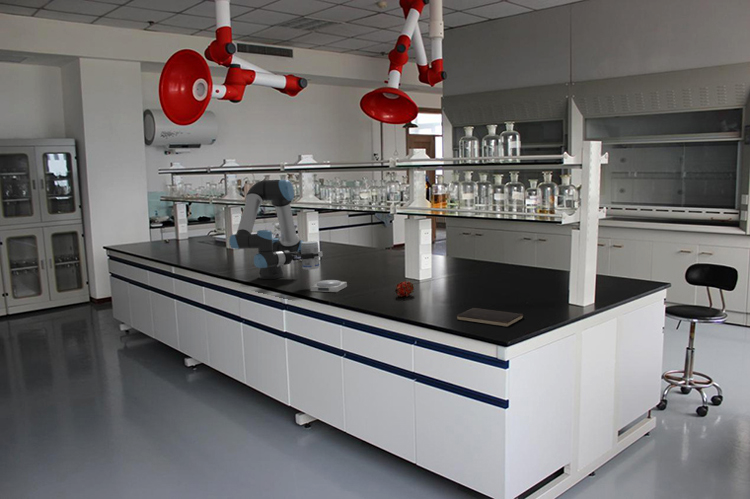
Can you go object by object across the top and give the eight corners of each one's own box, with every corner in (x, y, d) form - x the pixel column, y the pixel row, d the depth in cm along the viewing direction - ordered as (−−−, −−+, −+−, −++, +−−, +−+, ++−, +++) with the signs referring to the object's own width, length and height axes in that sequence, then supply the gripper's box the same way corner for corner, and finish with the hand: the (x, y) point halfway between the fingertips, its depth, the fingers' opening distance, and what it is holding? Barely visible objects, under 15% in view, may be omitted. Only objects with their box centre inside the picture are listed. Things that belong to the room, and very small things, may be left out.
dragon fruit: (415, 297, 300) (397, 304, 293) (405, 286, 304) (387, 293, 297) (420, 285, 294) (402, 293, 287) (410, 274, 299) (392, 281, 292)
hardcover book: (507, 328, 235) (507, 322, 235) (456, 320, 249) (456, 315, 248) (523, 319, 248) (523, 313, 247) (473, 312, 261) (473, 307, 261)
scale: (321, 285, 330) (321, 279, 330) (346, 286, 325) (346, 280, 325) (310, 291, 316) (310, 284, 315) (336, 292, 311) (336, 285, 311)
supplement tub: (315, 266, 333) (314, 240, 331) (322, 268, 325) (321, 242, 323) (299, 268, 328) (298, 241, 326) (305, 270, 320) (304, 243, 318)
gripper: (271, 262, 322) (305, 257, 337) (293, 267, 306) (328, 261, 320) (270, 249, 321) (305, 244, 336) (293, 252, 305) (328, 248, 319)
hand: (316, 253), depth 328 cm, fingers closed on supplement tub, 9 cm apart
